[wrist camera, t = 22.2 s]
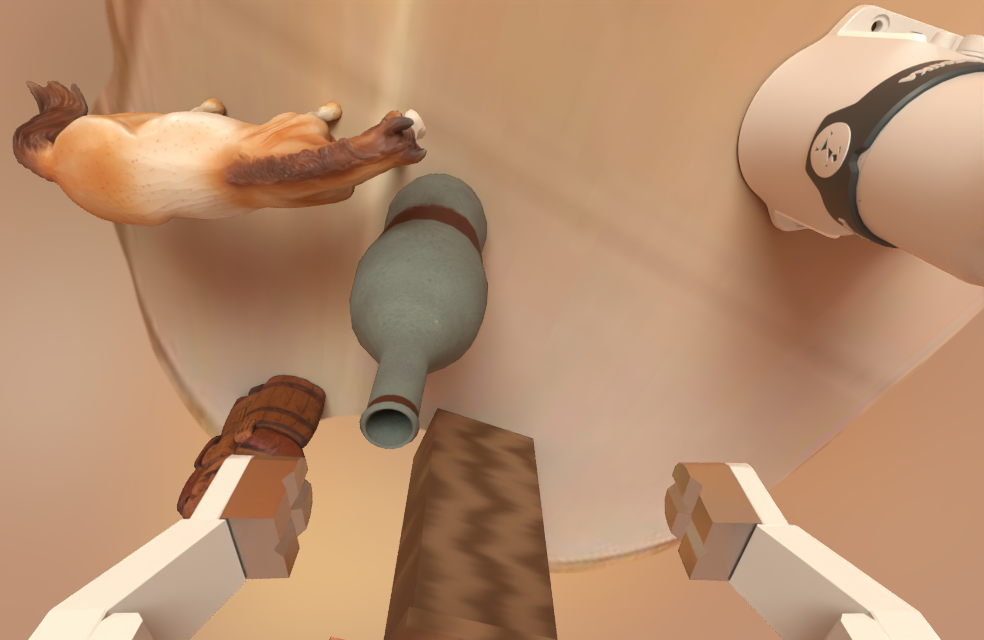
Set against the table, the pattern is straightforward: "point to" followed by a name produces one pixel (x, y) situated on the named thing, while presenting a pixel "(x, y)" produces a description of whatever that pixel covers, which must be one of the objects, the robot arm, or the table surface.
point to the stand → (472, 539)
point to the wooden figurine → (258, 431)
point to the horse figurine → (203, 158)
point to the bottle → (418, 299)
